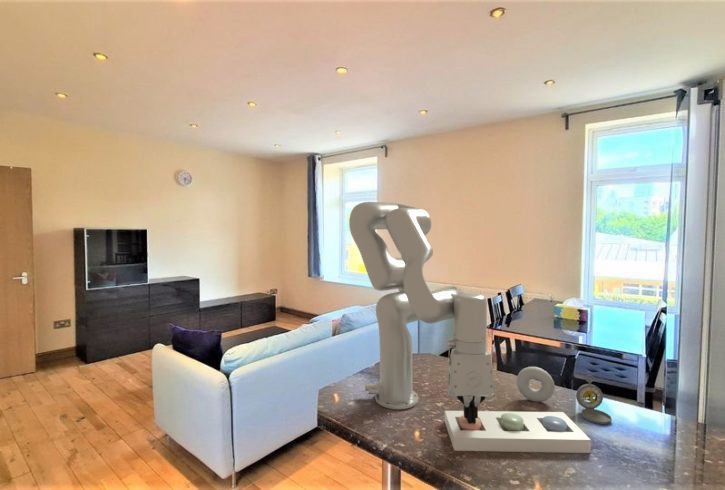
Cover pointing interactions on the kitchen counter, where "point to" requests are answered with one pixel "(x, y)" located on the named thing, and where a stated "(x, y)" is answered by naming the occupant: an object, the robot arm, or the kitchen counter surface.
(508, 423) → the sage button
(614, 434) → the kitchen counter surface
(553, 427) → the slate button
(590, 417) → the pocket watch
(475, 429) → the terracotta button
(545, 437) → the console
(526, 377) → the donut
